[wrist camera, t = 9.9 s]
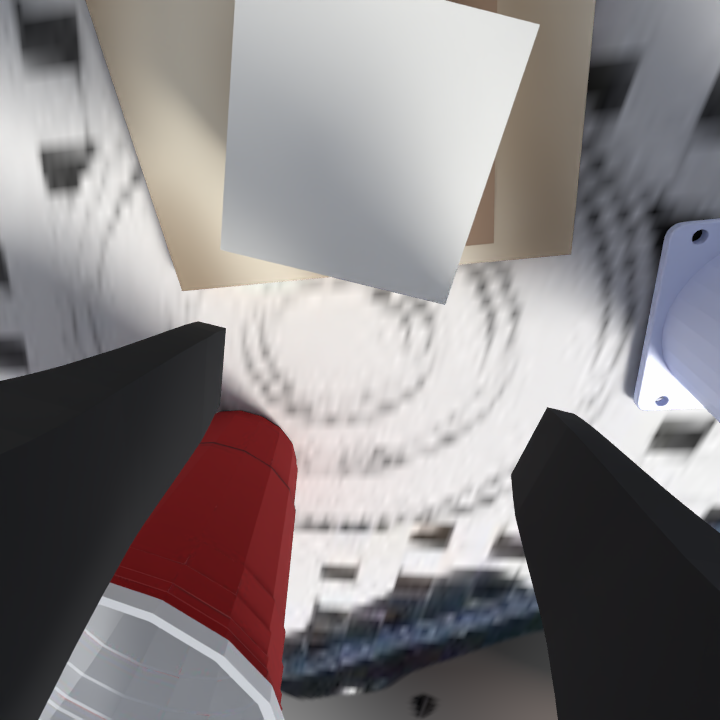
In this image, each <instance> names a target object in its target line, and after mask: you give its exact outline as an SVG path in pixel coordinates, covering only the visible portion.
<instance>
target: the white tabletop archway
mask: <svg viewBox="0 0 720 720" xmlns="http://www.w3.org/2000/svg"><path fill="white" fill-rule="evenodd" d="M539 26H540V24H536V23H532V22H528V21H524V20H520V19H516V18H512V17H508V16H504V15H501V14H497V13H493V12H489V11H485V10H481V9H477V8H473V7H469V6H466V5H462V4H458V3H454V2H450V1H446V0H235V10H234V27H233V44H232V61H231V78H230V94H229V111H228V128H227V145H226V162H225V179H224V195H223V212H222V229H221V246H220V250H223V251H227V252H231V253H235V254H240V255H244V256H248V257H252V258H256V259H260V260H264V261H268V262H272V263H276V264H280V265H285V266H289V267H293V268H297V269H301V270H305V271H309V272H313V273H317V274H321V275H325V276H329V277H334V278H338V279H342V280H346V281H350V282H354V283H358V284H362V285H366V286H370V287H374V288H379V289H383V290H387V291H391V292H395V293H399V294H403V295H407V296H411V297H415V298H419V299H423V300H428V301H432V302H436V303H440V304H444V305H445V303H446V300H447V298H448V295H449V292H450V289H451V286H452V283H453V280H454V277H455V274H456V271H457V268H458V265H459V262H460V259H461V256H462V253H463V250H464V247H465V244H466V241H467V239H468V236H469V233H470V230H471V227H472V224H473V221H474V218H475V215H476V212H477V209H478V206H479V203H480V200H481V197H482V194H483V191H484V188H485V185H486V182H487V180H488V177H489V174H490V171H491V168H492V165H493V162H494V159H495V156H496V153H497V150H498V147H499V144H500V141H501V138H502V135H503V132H504V129H505V126H506V123H507V121H508V118H509V115H510V112H511V109H512V106H513V103H514V100H515V97H516V94H517V91H518V88H519V85H520V82H521V79H522V76H523V73H524V70H525V67H526V65H527V62H528V59H529V56H530V53H531V50H532V47H533V44H534V41H535V38H536V35H537V32H538V29H539Z"/></svg>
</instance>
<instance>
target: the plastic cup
mask: <svg viewBox="0 0 720 720" xmlns="http://www.w3.org/2000/svg"><path fill="white" fill-rule="evenodd" d="M297 470H298V469H297V465H296V456H295V452H294V448H293V444H292V442H291V441H290V440H289V439H288V437H287V436H286V435H285V433H284V432H283V431H282V430H281V428H279V427H278V426H276V425H275V424H273V423H272V422H270V421H269V420H267V419H265V418H264V417H262V416H259V415H256V414H252V413H248V412H245V411H241V410H239V411H221V412H218V413H216V414H215V415H214V417H213V419H212V421H211V424H210V425H209V427H208V429H207V431H206V433H205V435H204V437H203V439H202V441H201V442H200V444H199V445H198V447H197V448H196V450H195V451H194V453H193V454H192V456H191V457H190V459H189V460H188V461H187V463H186V464H185V466H184V467H183V469H182V470H181V472H180V473H179V474H178V476H177V477H176V479H175V480H174V482H173V483H172V485H171V486H170V487H169V489H168V490H167V492H166V493H165V495H164V496H163V497H162V499H161V500H160V502H159V503H158V505H157V506H156V507H155V509H154V510H153V512H152V513H151V515H150V516H149V518H148V519H147V520H146V522H145V523H144V525H143V526H142V528H141V530H140V531H139V533H138V534H137V536H136V537H135V539H134V541H133V542H132V544H131V545H130V547H129V549H128V551H127V552H126V554H125V556H124V558H123V560H122V561H121V563H120V565H119V567H118V569H117V570H116V572H115V574H114V576H113V578H112V579H111V581H110V583H109V585H108V587H107V588H106V590H105V592H104V594H103V596H102V598H101V599H100V601H99V603H98V605H97V607H96V609H95V611H94V613H93V614H92V616H91V618H90V620H89V622H88V624H87V626H86V628H85V630H84V631H83V633H82V635H81V637H80V639H79V641H78V643H77V645H76V646H75V648H74V650H73V652H72V654H71V656H70V658H69V660H68V662H67V664H66V666H65V668H64V670H63V672H62V674H61V676H60V678H59V680H58V682H57V684H56V686H55V688H54V690H53V692H52V694H51V696H50V698H49V700H48V702H47V704H46V706H45V708H44V710H43V712H42V714H41V716H40V718H39V720H284V717H283V714H282V707H281V704H280V703H281V697H282V693H281V691H280V687H281V680H282V673H283V664H282V654H283V647H284V639H285V629H284V619H285V609H286V599H287V590H288V580H289V570H290V560H291V550H292V541H293V531H294V521H295V511H296V510H295V506H294V500H295V490H296V480H297Z"/></svg>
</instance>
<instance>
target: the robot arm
mask: <svg viewBox="0 0 720 720" xmlns="http://www.w3.org/2000/svg"><path fill="white" fill-rule="evenodd" d="M701 229H702V235H701V237H700V238H699V239H698V240H696V241H693V242H692V236H693V234H694V233H695V232H697V231H698V230H701ZM225 333H226V328H223V327H219V326H215V325H211V324H206V323H202V322H194V323H190V324H187V325H184V326H181V327H178V328H175V329H172V330H169V331H166V332H164V333H161V334H158V335H155V336H152V337H150V338H147V339H144V340H141V341H138V342H135V343H132V344H130V345H127V346H124V347H121V348H118V349H115V350H112V351H109V352H106V353H102V354H99V355H96V356H93V357H89V358H86V359H83V360H80V361H77V362H73V363H70V364H67V365H64V366H60V367H56V368H53V369H49V370H45V371H41V372H37V373H33V374H29V375H25V376H21V377H16V378H12V379H7V380H3V381H0V720H39V718H40V716H41V714H42V712H43V710H44V708H45V706H46V704H47V702H48V700H49V698H50V696H51V694H52V692H53V690H54V688H55V686H56V684H57V682H58V680H59V678H60V676H61V674H62V672H63V670H64V668H65V666H66V664H67V662H68V660H69V658H70V656H71V654H72V652H73V650H74V648H75V646H76V645H77V643H78V641H79V639H80V637H81V635H82V633H83V631H84V630H85V628H86V626H87V624H88V622H89V620H90V618H91V616H92V614H93V613H94V611H95V609H96V607H97V605H98V603H99V601H100V599H101V598H102V596H103V594H104V592H105V590H106V588H107V587H108V585H109V583H110V581H111V579H112V578H113V576H114V574H115V572H116V570H117V569H118V567H119V565H120V563H121V561H122V560H123V558H124V556H125V554H126V552H127V551H128V549H129V547H130V545H131V544H132V542H133V541H134V539H135V537H136V536H137V534H138V533H139V531H140V530H141V528H142V526H143V525H144V523H145V522H146V520H147V519H148V518H149V516H150V515H151V513H152V512H153V510H154V509H155V507H156V506H157V505H158V503H159V502H160V500H161V499H162V497H163V496H164V495H165V493H166V492H167V490H168V489H169V487H170V486H171V485H172V483H173V482H174V480H175V479H176V477H177V476H178V474H179V473H180V472H181V470H182V469H183V467H184V466H185V464H186V463H187V461H188V460H189V459H190V457H191V456H192V454H193V453H194V451H195V450H196V448H197V447H198V445H199V444H200V442H201V441H202V439H203V437H204V435H205V433H206V431H207V429H208V427H209V425H210V424H211V421H212V419H213V417H214V415H215V413H216V411H217V409H218V407H219V405H220V397H221V384H222V372H223V359H224V346H225ZM661 396H664V397H663V399H661V400H660V401H656V400H657V398H659V397H661ZM633 399H634V403H635V404H636V405H637V407H638V408H639V409H641V410H645V411H651V410H674V409H697V408H706V409H707V410H708V411H709V412H710V413H711V414H712V415H713V416H714V417H715V418H716V419H717V420H718V421H719V422H720V218H717V219H707V220H697V221H688V222H681V223H677V224H675V225H674V226H672V227H671V228H670V229H669V230H668V231H667V233H666V235H665V238H664V243H663V248H662V253H661V258H660V263H659V269H658V274H657V279H656V284H655V289H654V294H653V299H652V305H651V310H650V315H649V320H648V325H647V330H646V336H645V341H644V346H643V351H642V356H641V361H640V366H639V372H638V377H637V382H636V387H635V392H634V397H633ZM511 479H512V491H513V501H514V509H515V516H516V521H517V525H518V529H519V533H520V537H521V541H522V545H523V549H524V553H525V557H526V561H527V565H528V569H529V572H530V576H531V580H532V584H533V588H534V592H535V595H536V599H537V603H538V607H539V611H540V615H541V619H542V623H543V628H544V632H545V637H546V642H547V647H548V654H549V660H550V667H551V673H552V680H553V686H554V693H555V699H556V707H557V715H558V720H720V533H719V532H718V531H716V530H715V529H714V528H712V527H711V526H710V525H709V524H707V523H706V522H705V521H704V520H702V519H701V518H700V517H699V516H697V515H696V514H695V513H694V512H692V511H691V510H690V509H689V508H687V507H686V506H685V505H684V504H682V503H681V502H680V501H679V500H677V499H676V498H675V497H674V496H673V495H671V494H670V493H669V492H668V491H667V490H665V489H664V488H663V487H662V486H661V485H660V484H658V483H657V482H656V481H655V480H654V479H652V478H651V477H650V476H649V475H648V474H647V473H645V472H644V471H643V470H642V469H641V468H640V467H639V466H637V465H636V464H635V463H634V462H633V461H632V460H630V459H629V458H628V457H627V456H626V455H625V454H624V453H622V452H621V451H620V450H619V449H618V448H617V447H615V446H614V445H613V444H612V443H611V442H610V441H609V440H607V439H606V438H605V437H604V436H603V435H601V434H600V433H599V432H598V431H597V430H595V429H594V428H593V427H592V426H590V425H589V424H588V423H587V422H585V421H584V420H582V419H581V418H580V417H578V416H577V415H575V414H572V413H568V412H564V411H560V410H556V409H552V408H548V407H547V409H546V411H545V413H544V414H543V416H542V418H541V420H540V422H539V424H538V426H537V427H536V429H535V431H534V433H533V435H532V437H531V439H530V441H529V442H528V444H527V446H526V448H525V450H524V452H523V454H522V455H521V457H520V459H519V461H518V463H517V465H516V467H515V468H514V470H513V472H512V474H511Z"/></svg>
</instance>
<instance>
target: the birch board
mask: <svg viewBox="0 0 720 720" xmlns="http://www.w3.org/2000/svg"><path fill="white" fill-rule="evenodd" d="M85 1H86V4H87V7H88V10H89V13H90V16H91V19H92V22H93V25H94V28H95V31H96V34H97V37H98V40H99V43H100V46H101V49H102V52H103V55H104V58H105V61H106V64H107V67H108V70H109V73H110V76H111V79H112V82H113V85H114V88H115V91H116V94H117V97H118V100H119V103H120V106H121V109H122V112H123V115H124V118H125V121H126V124H127V127H128V130H129V133H130V136H131V139H132V142H133V145H134V148H135V151H136V154H137V157H138V160H139V163H140V166H141V169H142V172H143V175H144V178H145V181H146V184H147V187H148V190H149V193H150V196H151V199H152V202H153V205H154V208H155V211H156V214H157V217H158V220H159V223H160V226H161V229H162V232H163V235H164V238H165V241H166V244H167V247H168V250H169V253H170V256H171V259H172V262H173V265H174V268H175V271H176V274H177V277H178V280H179V283H180V286H181V288H182V291H188V290H199V289H209V288H220V287H230V286H241V285H251V284H262V283H272V282H283V281H294V280H304V279H315V278H325V277H329V276H325V275H321V274H317V273H313V272H309V271H305V270H301V269H297V268H293V267H289V266H285V265H280V264H276V263H272V262H268V261H264V260H260V259H256V258H252V257H248V256H244V255H240V254H235V253H231V252H227V251H223V250H220V246H221V229H222V212H223V195H224V179H225V162H226V145H227V128H228V111H229V94H230V78H231V61H232V44H233V27H234V10H235V0H85ZM446 1H450V2H454V3H458V4H462V5H466V6H469V7H473V8H477V9H481V10H485V11H489V12H493V13H497V14H501V15H504V16H508V17H512V18H516V19H520V20H524V21H528V22H532V23H536V24H540V26H539V29H538V32H537V35H536V38H535V41H534V44H533V47H532V50H531V53H530V56H529V59H528V62H527V65H526V67H525V70H524V73H523V76H522V79H521V82H520V85H519V88H518V91H517V94H516V97H515V100H514V103H513V106H512V109H511V112H510V115H509V118H508V121H507V123H506V126H505V129H504V132H503V135H502V138H501V141H500V144H499V147H498V150H497V153H496V156H495V159H494V162H493V165H492V168H491V171H490V174H489V177H488V180H487V182H486V185H485V188H484V191H483V194H482V197H481V200H480V203H479V206H478V209H477V212H476V215H475V218H474V221H473V224H472V227H471V230H470V233H469V236H468V239H467V241H466V244H465V247H464V250H463V253H462V256H461V259H460V262H459V265H463V264H473V263H484V262H494V261H505V260H516V259H526V258H537V257H547V256H558V255H568V254H571V250H572V240H573V230H574V219H575V209H576V199H577V188H578V178H579V168H580V158H581V147H582V137H583V127H584V116H585V106H586V96H587V86H588V75H589V65H590V55H591V44H592V34H593V24H594V14H595V3H596V0H446Z"/></svg>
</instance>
